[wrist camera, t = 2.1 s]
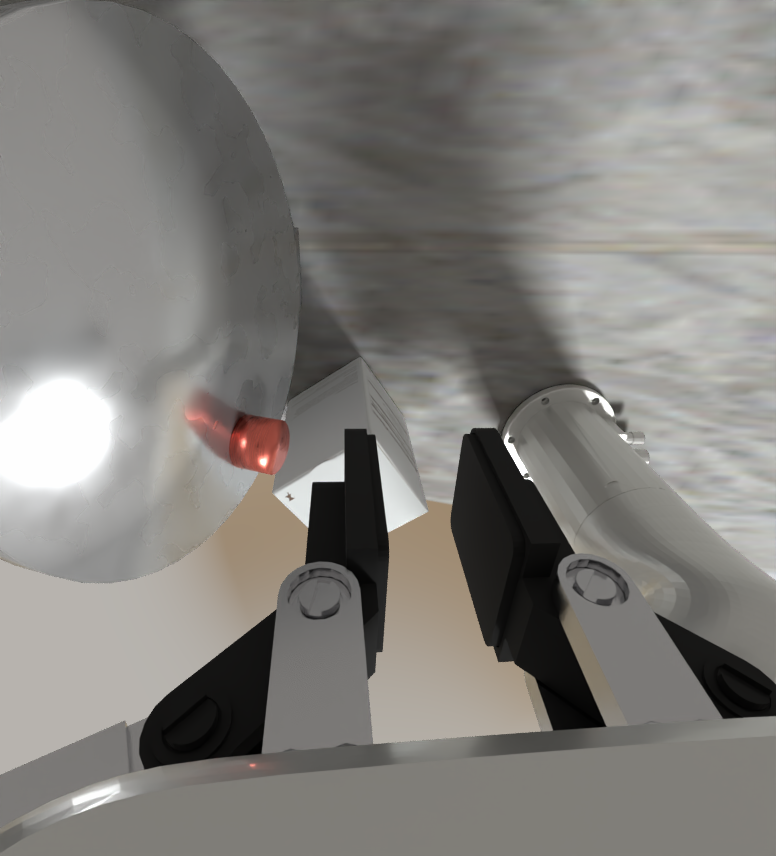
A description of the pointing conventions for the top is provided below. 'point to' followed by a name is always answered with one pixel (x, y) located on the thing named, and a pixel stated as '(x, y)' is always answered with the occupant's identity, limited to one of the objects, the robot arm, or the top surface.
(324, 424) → the supplement box
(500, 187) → the top surface
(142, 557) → the lid
